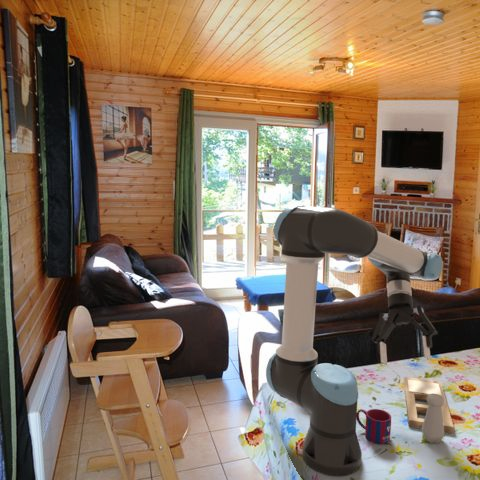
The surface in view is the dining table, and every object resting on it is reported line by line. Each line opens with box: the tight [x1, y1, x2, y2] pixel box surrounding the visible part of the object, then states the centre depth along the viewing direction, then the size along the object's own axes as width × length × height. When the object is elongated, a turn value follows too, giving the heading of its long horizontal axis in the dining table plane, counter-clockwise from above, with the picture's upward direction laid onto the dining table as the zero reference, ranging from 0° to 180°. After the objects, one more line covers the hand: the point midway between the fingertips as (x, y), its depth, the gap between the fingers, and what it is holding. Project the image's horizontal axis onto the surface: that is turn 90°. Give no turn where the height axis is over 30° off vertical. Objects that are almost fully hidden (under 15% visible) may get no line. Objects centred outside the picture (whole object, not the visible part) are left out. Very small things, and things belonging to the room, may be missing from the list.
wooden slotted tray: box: [403, 376, 455, 434], centre depth 143 cm, size 12×30×2 cm, turn 162°
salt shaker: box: [421, 393, 445, 444], centre depth 124 cm, size 6×6×13 cm
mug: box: [356, 408, 392, 445], centre depth 126 cm, size 7×10×7 cm
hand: (405, 361), depth 134 cm, fingers open, 13 cm apart
